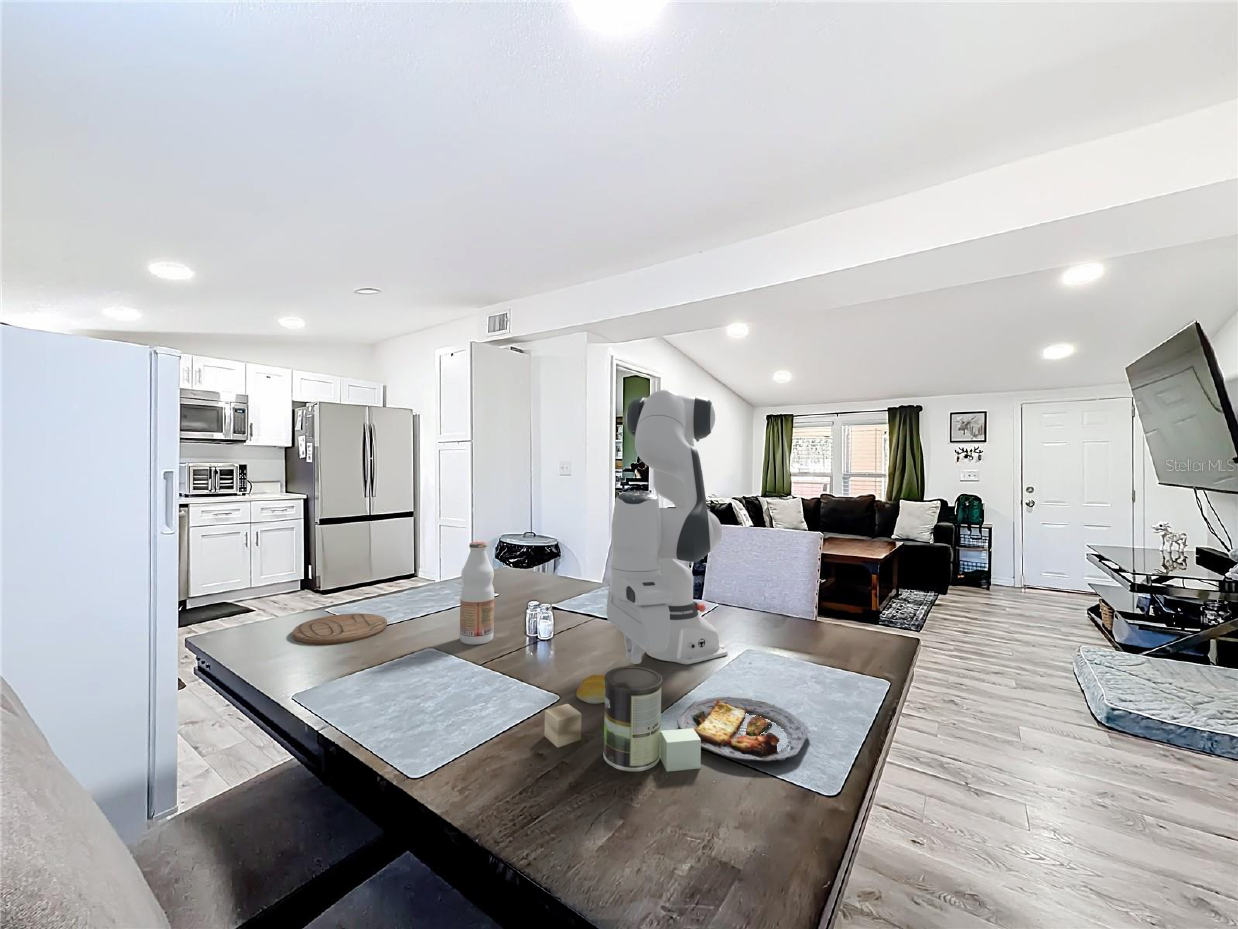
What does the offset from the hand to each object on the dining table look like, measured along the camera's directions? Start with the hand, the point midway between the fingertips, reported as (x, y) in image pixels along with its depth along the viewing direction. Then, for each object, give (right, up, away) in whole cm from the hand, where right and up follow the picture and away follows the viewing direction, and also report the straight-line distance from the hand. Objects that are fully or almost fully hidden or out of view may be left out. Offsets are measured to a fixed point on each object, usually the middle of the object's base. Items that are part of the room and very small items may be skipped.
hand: (633, 661), depth 96 cm
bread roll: (-8, -17, +25) cm, 31 cm away
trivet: (-86, -15, +66) cm, 109 cm away
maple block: (-13, -17, +6) cm, 22 cm away
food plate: (+21, -18, +8) cm, 29 cm away
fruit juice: (-44, -16, +59) cm, 76 cm away
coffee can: (0, -17, 0) cm, 17 cm away
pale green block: (+8, -17, -2) cm, 19 cm away
